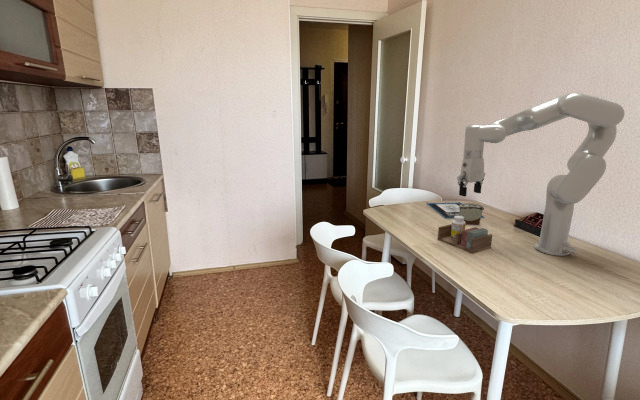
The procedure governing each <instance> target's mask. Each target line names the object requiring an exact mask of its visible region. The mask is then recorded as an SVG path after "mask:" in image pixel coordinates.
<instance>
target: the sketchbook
mask: <svg viewBox="0 0 640 400" xmlns="http://www.w3.org/2000/svg"><path fill="white" fill-rule="evenodd" d="M425 204H426V206H427V207H428V208H430V209H432V210H433V211H434V212H435V213H437V214H438V215H439V216H441V217H442V218H444V219H445V220H454V216H460V208H459V206H460V204H463V202H460V201H445V202H443V201H442V202H441V201H440V202H439V201H438V202H435V201H434V202H426V203H425ZM458 208H459V210H458ZM481 219H485V216H483V215H482V216H481Z"/></svg>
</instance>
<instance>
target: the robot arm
mask: <svg viewBox="0 0 640 400" xmlns="http://www.w3.org/2000/svg"><path fill="white" fill-rule="evenodd" d="M624 117H625V109H624V107H623V106H622V105H621V104H619V103H617V102H614V101H610V100H606V99H603V98H599V97H596V96H592V95H589V94H584V93H580V92H570V93H565V94H562V95H559V96H557V97H555V98H553V99H550V100H546V101H545V102H543V103H540V104H537V105H534V106H532V107H529V108H526V109H525V110H522V111H520V112H518V113H515V114H513V115H510V116H507V117H505V118H502V119H499V120H497V121H495V122H492V123H490V124H488V125H484V124H468V125H467V126H465V131H464V142H463V143H464V145H463V158H462V162H461V167H460V168H461V169H460V174H459V175H458V176H457V177H456V181H457V184H458V187H459V191H458V194H459V195H458V196H461V197H467V190H468V187H467V185H468V184H469V183H470V184H471V183H473V184H474V185H473V193H475V194H482V186H483V185H482V184H483V183H484V182H483V181H484V179H485V176H486V173H485V160H484V148H485V147H484V146H485V143H489V144H499V143H502V142H503V141H504V140H505V139H506V138H507V137H508V136H511V135H514V134H518V133H521V132H525V131H533V130H536V129H537V130H538V129H540V128H542V127H545V126H547V125H550V124H553V123H555V122H559V121H561V120H564V119H566V118H573V119H575V120H580V121H583V122H586V123H587V125H588V132H587V135H586V136H585V138H584V139H583V141H582V142H581V143H580V145H579V146H578V147H577V149H576V150H575V151H574V153H572V155H571V156H570V157H569V159H568V160H567V163H566V167H567V169H568V173H567V174H558V175H555V176H553V177H552V178H551V179H550V180H549V181H548V183H547V186H546V195H545V198H546V199H545V200H546V201H545V206H544V207H545V208H544V211H543V218H542V223H541V229H540V235H539V236H540V237H539V241H538V242H535V243H534V245H533V247H534V249H535V250H537V252H539V253H540V252H541V253H543V254H547V255H551V256H557V257H559V256H561V257H564V256H565V257H566V256H569V255H570V254H573V255H576V254H577V253H578V249H577V247H574V246H571V245H570V244H571V242H569V237H570V236H569V235H570V230H571V224H572V220H573V216H574V210H575V209H574V208H575V204H578V203H579V202H581V201H582V200H584V199H585V198H586V196H587V195H588V194H589V193H590V192H591V191H592V189H593V188H594V187H595V186H596V185H597V183H598V182H599V181H600V179H601V178H602V177H603V176H604V175H605V171H606V169H607V163H606V159H604V157H605V156H606V154H607V153H608V151H609V150H610V148H611V147H612V146H613V145H614V142H615V140H616V137H617V131H618V130H617V125H619V124H620V123H621V122H622V121H623V120H624Z"/></svg>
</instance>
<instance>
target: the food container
mask: <svg viewBox="0 0 640 400" xmlns="http://www.w3.org/2000/svg"><path fill="white" fill-rule="evenodd" d="M459 208H460V216H463V217H464V221H465V226H480V224H481V219H482V218H481V216H483V211H485V208H484V206H483V205H481V204H479V203H470V202H468V203H467V202H466V203H465V202H464V203H463V202H462V204H460V206H459ZM459 208H458V210H459Z"/></svg>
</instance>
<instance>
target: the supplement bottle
mask: <svg viewBox="0 0 640 400" xmlns="http://www.w3.org/2000/svg"><path fill="white" fill-rule="evenodd" d="M451 224H452V228H451V238H452V239H453V240H456V233H460V232H462V230H466V225H465V221H464V217H463V216H454V219H452V220H451Z"/></svg>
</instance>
